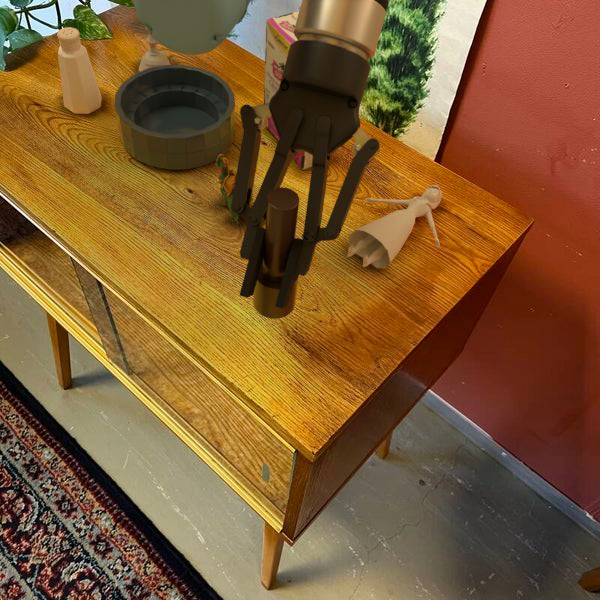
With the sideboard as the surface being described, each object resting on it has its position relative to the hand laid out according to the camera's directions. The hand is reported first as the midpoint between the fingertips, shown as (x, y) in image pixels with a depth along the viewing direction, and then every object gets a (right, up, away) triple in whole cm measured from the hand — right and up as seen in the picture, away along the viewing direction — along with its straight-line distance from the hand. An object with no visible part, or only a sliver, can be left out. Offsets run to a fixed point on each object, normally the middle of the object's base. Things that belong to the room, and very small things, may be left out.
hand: (264, 299), depth 63 cm
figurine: (-4, +10, +21) cm, 24 cm away
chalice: (-19, +35, +39) cm, 55 cm away
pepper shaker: (-28, +28, +32) cm, 51 cm away
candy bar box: (+3, +22, +31) cm, 38 cm away
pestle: (+1, 0, +6) cm, 6 cm away
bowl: (-14, +23, +29) cm, 40 cm away
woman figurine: (+16, +8, +22) cm, 28 cm away
